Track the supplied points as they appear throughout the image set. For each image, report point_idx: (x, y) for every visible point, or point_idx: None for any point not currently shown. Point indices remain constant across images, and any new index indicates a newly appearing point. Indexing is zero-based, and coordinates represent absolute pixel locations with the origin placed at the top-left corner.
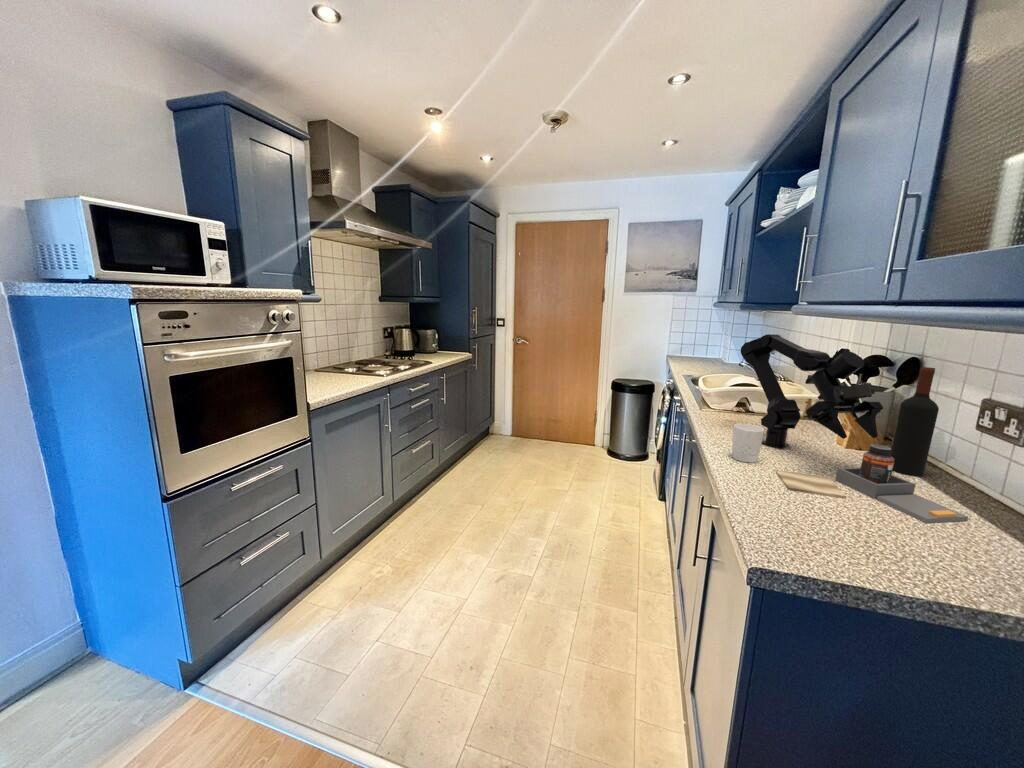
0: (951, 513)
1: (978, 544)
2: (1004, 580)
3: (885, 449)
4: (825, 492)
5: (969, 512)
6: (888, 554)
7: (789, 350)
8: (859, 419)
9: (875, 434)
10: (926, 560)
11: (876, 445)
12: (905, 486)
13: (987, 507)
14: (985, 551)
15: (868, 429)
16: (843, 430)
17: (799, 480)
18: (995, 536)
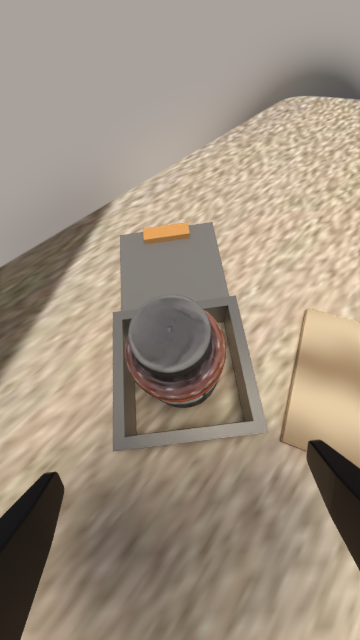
0: (153, 228)
1: (189, 184)
2: (243, 129)
3: (179, 296)
4: (354, 324)
5: (76, 271)
6: (353, 153)
7: None
8: None
9: (47, 487)
10: (307, 148)
11: (174, 349)
12: None
13: (9, 293)
14: (199, 171)
15: (18, 591)
16: (355, 481)
17: None
18: (134, 204)
